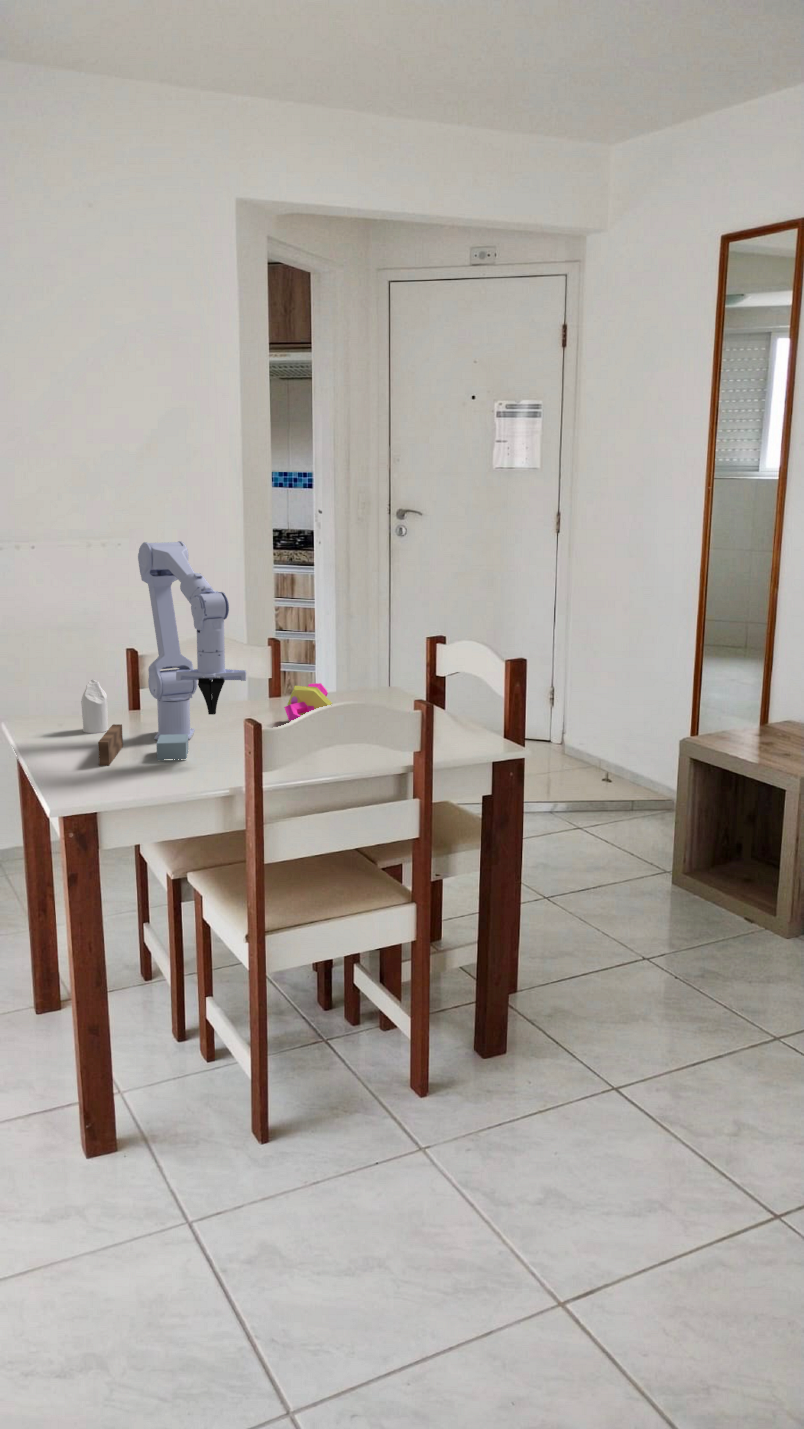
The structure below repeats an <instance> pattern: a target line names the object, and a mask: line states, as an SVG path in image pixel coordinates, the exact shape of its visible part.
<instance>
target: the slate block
mask: <svg viewBox="0 0 804 1429" xmlns="http://www.w3.org/2000/svg"><path fill="white" fill-rule="evenodd" d="M188 750H189V740H188V734H169V735H160V736H159V738H158V740H157V741H156V761H157V760H164V759H173V760H174V759H175V760H178V759H179V760H181V759H186V758H187V759H188V755H187V754H189V751H188ZM187 759H186V760H187Z"/></svg>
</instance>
